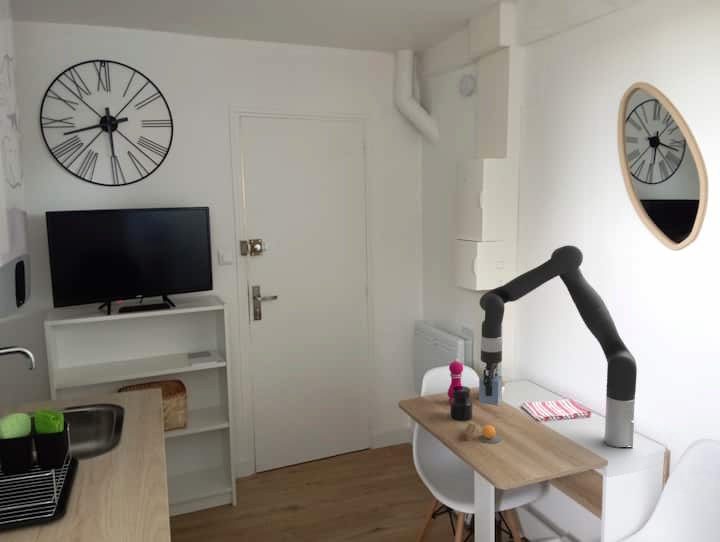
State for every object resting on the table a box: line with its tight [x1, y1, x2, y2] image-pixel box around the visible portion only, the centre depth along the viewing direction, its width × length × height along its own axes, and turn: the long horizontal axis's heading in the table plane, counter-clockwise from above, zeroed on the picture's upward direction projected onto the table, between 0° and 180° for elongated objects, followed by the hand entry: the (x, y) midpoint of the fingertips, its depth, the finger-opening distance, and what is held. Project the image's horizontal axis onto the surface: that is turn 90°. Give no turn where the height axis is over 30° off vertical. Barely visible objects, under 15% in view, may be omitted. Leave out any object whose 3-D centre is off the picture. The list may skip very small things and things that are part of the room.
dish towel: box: [521, 398, 592, 423], centre depth 231 cm, size 17×23×4 cm
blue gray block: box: [478, 373, 503, 406], centre depth 205 cm, size 7×7×9 cm
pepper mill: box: [447, 358, 464, 405], centre depth 241 cm, size 7×7×20 cm
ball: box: [481, 424, 497, 439], centre depth 207 cm, size 5×5×5 cm
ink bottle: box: [449, 385, 474, 422], centre depth 227 cm, size 10×9×12 cm
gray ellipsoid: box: [478, 434, 502, 444], centre depth 207 cm, size 8×8×1 cm
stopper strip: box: [462, 423, 476, 442], centre depth 210 cm, size 2×10×2 cm, turn 155°
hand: (490, 392), depth 205 cm, fingers closed on blue gray block, 7 cm apart
